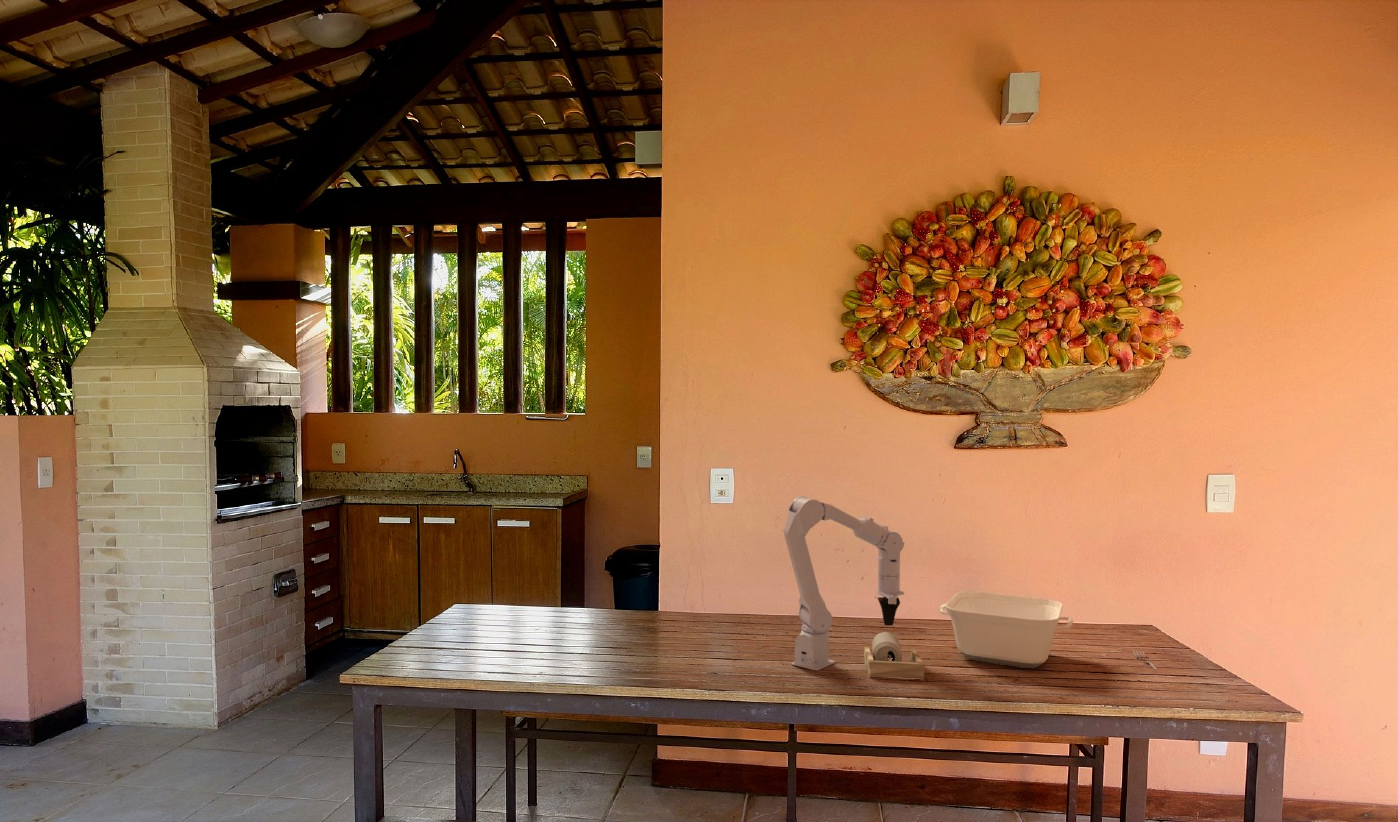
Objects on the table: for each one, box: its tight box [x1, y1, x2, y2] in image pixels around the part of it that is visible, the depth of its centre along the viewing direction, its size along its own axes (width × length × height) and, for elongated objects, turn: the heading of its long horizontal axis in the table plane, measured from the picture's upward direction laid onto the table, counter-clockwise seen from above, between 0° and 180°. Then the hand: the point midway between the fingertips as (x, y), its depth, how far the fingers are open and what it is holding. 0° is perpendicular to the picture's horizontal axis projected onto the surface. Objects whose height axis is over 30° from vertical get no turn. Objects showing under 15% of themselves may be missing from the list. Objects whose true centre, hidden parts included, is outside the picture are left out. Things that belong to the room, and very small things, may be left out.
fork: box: [1132, 649, 1158, 670], centre depth 207 cm, size 3×24×2 cm, turn 168°
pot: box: [939, 590, 1074, 669], centre depth 215 cm, size 34×29×15 cm
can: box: [871, 631, 903, 662], centre depth 207 cm, size 8×8×12 cm
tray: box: [863, 645, 925, 680], centre depth 203 cm, size 14×13×4 cm
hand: (888, 624), depth 212 cm, fingers closed
